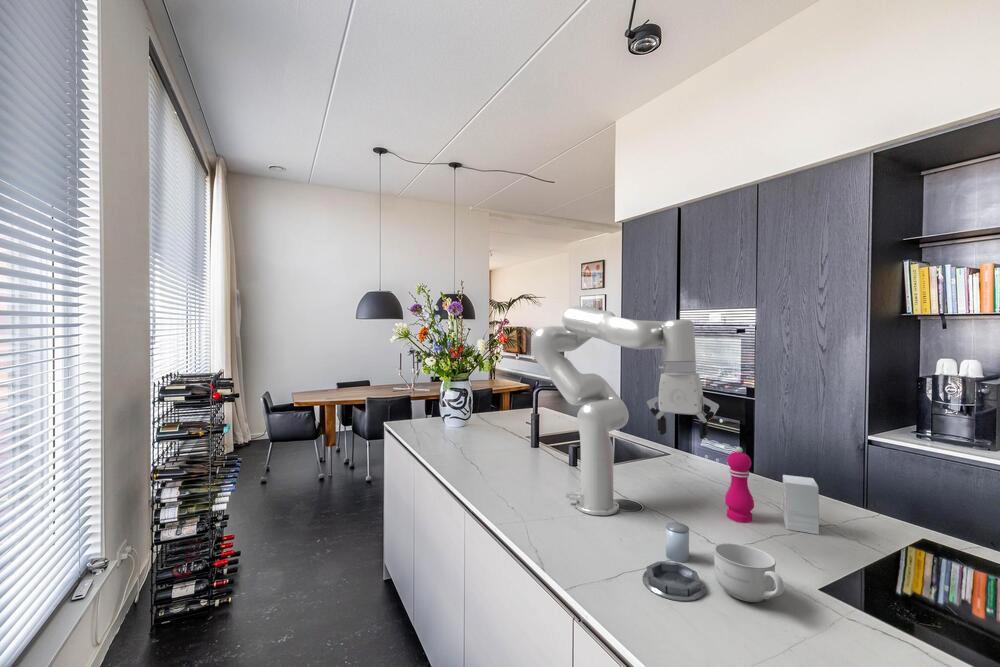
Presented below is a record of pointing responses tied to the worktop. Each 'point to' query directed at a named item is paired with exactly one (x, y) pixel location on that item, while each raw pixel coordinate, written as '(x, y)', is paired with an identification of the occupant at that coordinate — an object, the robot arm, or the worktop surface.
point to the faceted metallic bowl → (673, 581)
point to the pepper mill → (739, 488)
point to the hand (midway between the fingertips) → (682, 435)
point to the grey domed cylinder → (677, 542)
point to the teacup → (746, 572)
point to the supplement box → (800, 504)
